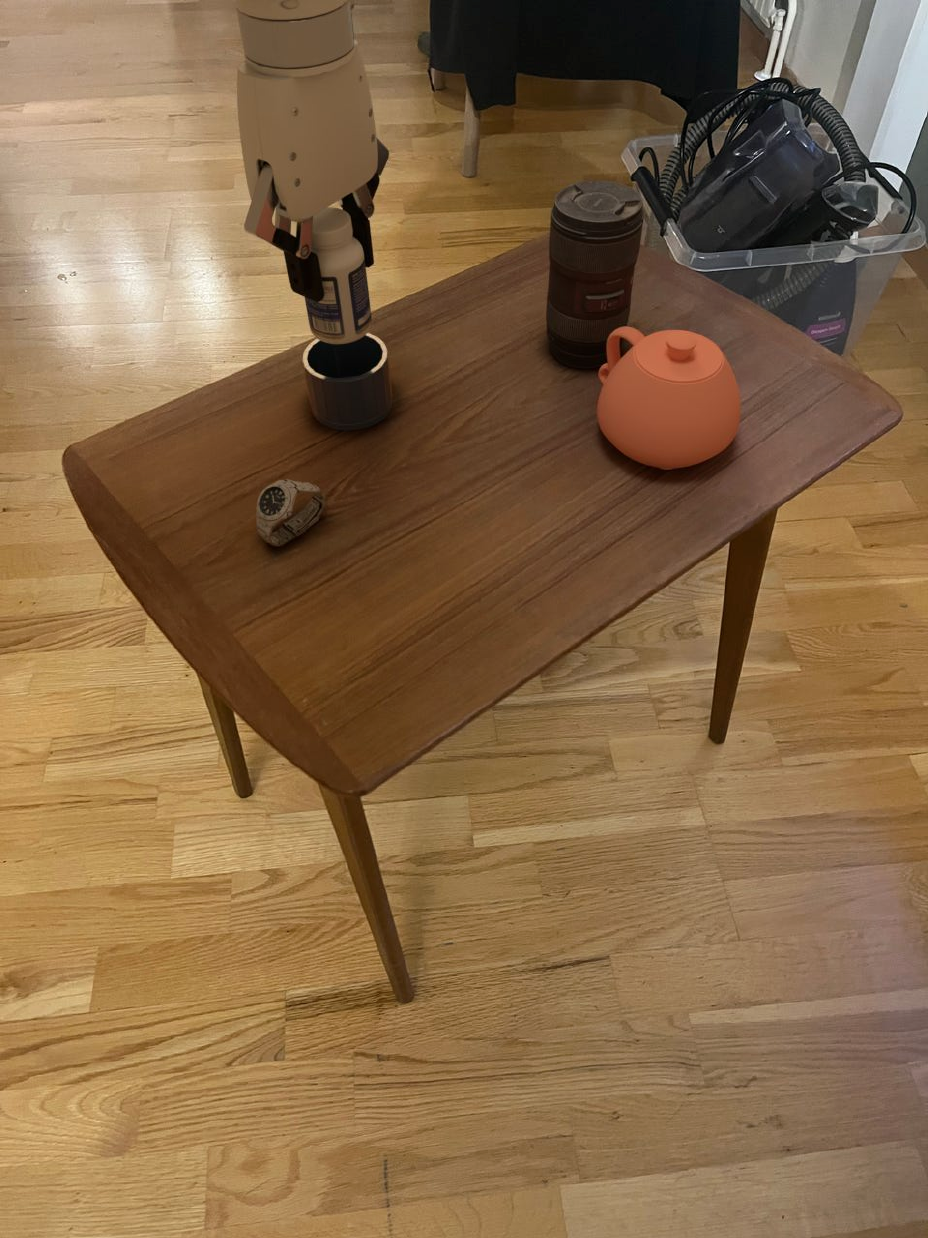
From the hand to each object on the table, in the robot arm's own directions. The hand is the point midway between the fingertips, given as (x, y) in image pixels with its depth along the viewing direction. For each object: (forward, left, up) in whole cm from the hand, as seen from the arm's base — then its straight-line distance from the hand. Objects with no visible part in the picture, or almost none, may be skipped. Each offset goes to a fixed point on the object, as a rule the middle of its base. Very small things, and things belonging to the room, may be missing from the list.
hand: (333, 276), depth 75 cm
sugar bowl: (+25, +13, -13) cm, 31 cm away
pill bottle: (0, 0, -5) cm, 5 cm away
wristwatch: (+7, -15, -13) cm, 21 cm away
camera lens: (+13, +20, -13) cm, 27 cm away
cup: (0, 0, -13) cm, 13 cm away
